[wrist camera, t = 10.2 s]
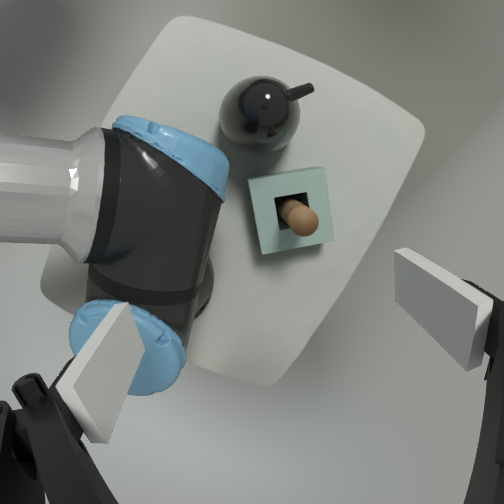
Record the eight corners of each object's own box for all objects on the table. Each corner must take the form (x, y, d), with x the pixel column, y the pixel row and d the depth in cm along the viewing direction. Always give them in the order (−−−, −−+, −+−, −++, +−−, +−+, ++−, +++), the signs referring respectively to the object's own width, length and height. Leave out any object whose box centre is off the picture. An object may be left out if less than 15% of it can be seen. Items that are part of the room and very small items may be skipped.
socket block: (259, 245, 48) (262, 254, 43) (246, 178, 45) (248, 180, 40) (324, 232, 48) (334, 240, 43) (314, 166, 45) (324, 167, 40)
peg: (274, 198, 46) (288, 210, 35) (296, 194, 46) (316, 205, 35) (278, 219, 47) (292, 239, 35) (299, 215, 47) (320, 233, 35)
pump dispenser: (304, 139, 44) (336, 130, 29) (237, 166, 45) (238, 168, 30) (277, 76, 41) (296, 40, 27) (209, 102, 42) (197, 75, 27)
